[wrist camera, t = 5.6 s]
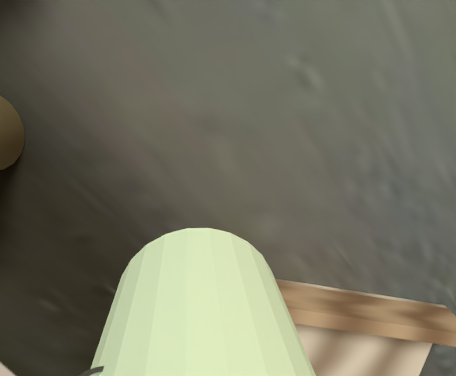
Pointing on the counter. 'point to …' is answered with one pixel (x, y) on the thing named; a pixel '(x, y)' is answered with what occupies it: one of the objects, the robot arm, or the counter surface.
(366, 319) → the wooden tray
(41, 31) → the counter surface
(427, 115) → the counter surface
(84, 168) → the counter surface
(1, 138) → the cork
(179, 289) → the candle
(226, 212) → the counter surface
